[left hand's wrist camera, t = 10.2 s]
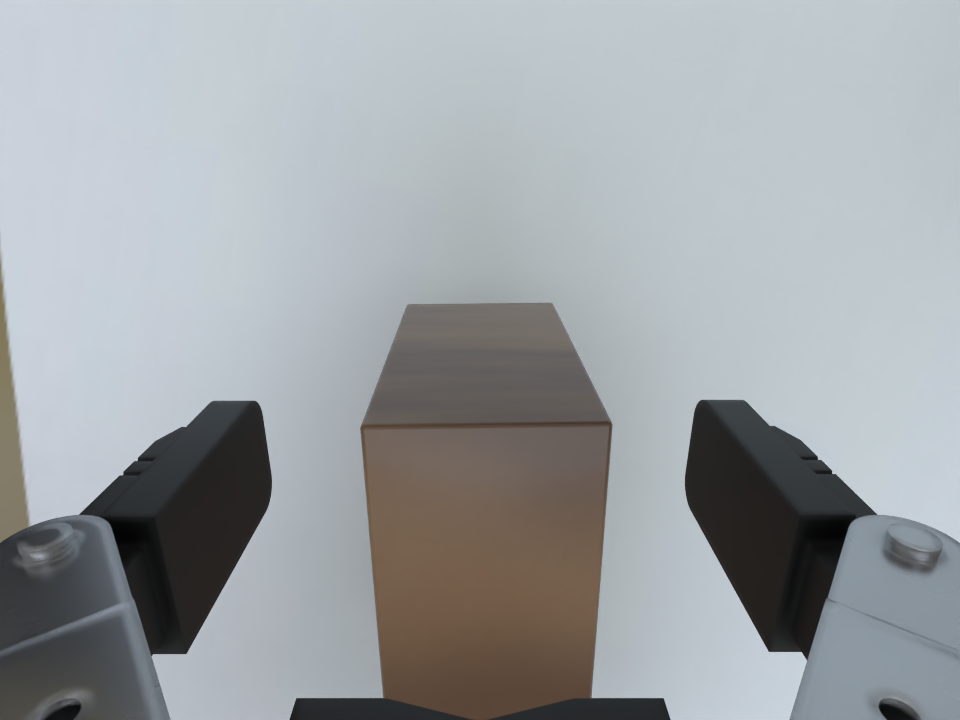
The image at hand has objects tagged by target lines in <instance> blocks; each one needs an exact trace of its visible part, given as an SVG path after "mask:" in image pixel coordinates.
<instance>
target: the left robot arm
mask: <svg viewBox="0 0 960 720" xmlns="http://www.w3.org/2000/svg"><path fill="white" fill-rule="evenodd" d="M271 489H272V477H271V469H270V462H269V455H268V448H267V442H266V435H265V428H264V421H263V415H262V410H261V408H260V405H259V404H258V403H257V402H256V401H212V402H211V403H209V404H208V405H207V406H206V407H205V408H204V410H203V411H202V412H201V413H200V414H199V415H198V416H197V417H196V418H195V419H194V420H193V421H192V422H191V423H190V424H189V425H188V426H187V427H181V428H179V429H177V430H175V431H173V432H172V433H170V434H168V435H166V436H164V437H162V438H160V439H159V440H157V441H155V442H154V443H153V444H152V445H151V446H150V447H149V448H148V449H147V450H146V451H145V452H144V453H143V454H142V455H141V456H140V457H138V461H134V462H133V463H132V464H131V465H130V466H129V467H128V468H127V469H126V470H125V471H124V474H123V476H119V477H118V478H117V479H116V480H115V481H114V482H113V483H112V484H110V485H109V486H108V487H107V488H106V489H105V490H104V491H103V492H102V493H101V494H100V495H99V496H98V497H97V498H96V499H95V500H94V501H93V502H92V503H91V504H90V505H89V506H88V507H87V508H86V509H85V510H83V511H82V512H81V513H80V514H79V515H73V516H65V517H60V518H55V519H51V520H48V521H44V522H41V523H38V524H36V525H33V526H31V527H28V528H26V529H24V530H22V531H20V532H18V533H16V534H14V535H12V536H10V537H9V538H7V539H5V540H4V541H2V542H1V543H0V720H170V717H169V713H168V710H167V707H166V703H165V700H164V697H163V693H162V690H161V687H160V683H159V680H158V677H157V673H156V670H155V667H154V663H153V660H152V657H151V656H152V655H153V654H187V652H188V650H189V648H190V646H191V645H192V643H193V641H194V639H195V637H196V636H197V634H198V632H199V630H200V629H201V627H202V625H203V623H204V621H205V620H206V618H207V616H208V614H209V612H210V611H211V609H212V607H213V605H214V603H215V602H216V600H217V598H218V596H219V595H220V593H221V591H222V589H223V587H224V586H225V584H226V582H227V580H228V578H229V577H230V575H231V573H232V571H233V569H234V568H235V566H236V564H237V562H238V561H239V559H240V557H241V555H242V553H243V552H244V550H245V548H246V546H247V544H248V543H249V541H250V539H251V537H252V535H253V534H254V532H255V530H256V528H257V527H258V525H259V523H260V521H261V519H262V518H263V516H264V514H265V512H266V510H267V508H268V505H269V502H270V497H271ZM685 490H686V497H687V501H688V505H689V507H690V510H691V511H692V513H693V515H694V517H695V519H696V521H697V522H698V524H699V526H700V528H701V530H702V531H703V533H704V535H705V537H706V539H707V540H708V542H709V544H710V546H711V548H712V550H713V551H714V553H715V555H716V557H717V559H718V560H719V562H720V564H721V566H722V568H723V569H724V571H725V573H726V575H727V577H728V579H729V580H730V582H731V584H732V586H733V588H734V589H735V591H736V593H737V595H738V597H739V598H740V600H741V602H742V604H743V606H744V607H745V609H746V611H747V613H748V615H749V617H750V618H751V620H752V622H753V624H754V626H755V627H756V629H757V631H758V633H759V635H760V636H761V638H762V640H763V642H764V644H765V646H766V647H767V649H768V651H769V652H802V653H803V655H804V656H805V658H806V659H807V663H806V667H805V670H804V673H803V677H802V680H801V683H800V687H799V690H798V693H797V697H796V700H795V703H794V707H793V710H792V713H791V717H790V720H960V543H959V542H958V541H956V540H955V539H953V538H951V537H950V536H948V535H946V534H944V533H942V532H940V531H938V530H936V529H934V528H932V527H929V526H927V525H924V524H922V523H919V522H916V521H912V520H909V519H905V518H900V517H895V516H887V515H877V514H876V513H875V512H874V511H873V510H872V509H871V508H870V507H869V506H868V505H867V504H866V503H865V502H864V501H863V500H862V499H861V498H860V497H859V496H858V495H856V494H855V493H854V492H853V491H852V490H851V489H850V488H849V487H848V486H847V485H846V484H845V483H844V482H843V481H842V480H841V479H840V478H839V477H838V476H837V475H836V474H832V470H831V469H830V468H829V467H828V466H827V465H826V464H825V463H824V462H823V461H822V460H818V457H817V456H816V455H815V454H814V453H813V452H812V451H811V450H810V449H809V448H808V447H807V446H806V445H805V444H804V443H803V442H802V441H801V440H799V439H797V438H796V437H794V436H792V435H790V434H788V433H786V432H785V431H783V430H781V429H779V428H777V427H775V426H769V425H768V424H767V423H766V422H765V421H764V420H763V419H762V418H761V417H760V416H759V415H758V413H757V412H756V411H755V410H754V409H753V408H752V407H751V406H750V405H749V404H748V403H747V402H746V401H744V400H701V401H699V402H698V404H697V406H696V408H695V412H694V418H693V425H692V432H691V439H690V446H689V453H688V460H687V467H686V474H685ZM290 720H473V719H468V718H464V717H460V716H456V715H452V714H448V713H444V712H440V711H436V710H432V709H428V708H424V707H420V706H416V705H412V704H407V703H403V702H399V701H395V700H391V699H387V698H296V701H295V705H294V708H293V711H292V714H291V717H290ZM487 720H670V717H669V714H668V711H667V708H666V705H665V701H664V698H573V699H569V700H565V701H561V702H557V703H553V704H548V705H544V706H540V707H536V708H532V709H528V710H524V711H520V712H516V713H512V714H508V715H504V716H500V717H496V718H492V719H487Z"/></svg>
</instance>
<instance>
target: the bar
mask: <svg viewBox="0 0 960 720" xmlns="http://www.w3.org/2000/svg"><path fill="white" fill-rule="evenodd" d="M360 429H361V441H362V453H363V464H364V476H365V488H366V500H367V511H368V523H369V535H370V546H371V558H372V570H373V582H374V593H375V605H376V617H377V629H378V640H379V652H380V664H381V676H382V687H383V698H387V699H391V700H395V701H399V702H403V703H407V704H412V705H416V706H420V707H424V708H428V709H432V710H436V711H440V712H444V713H448V714H452V715H456V716H460V717H464V718H468V719H473V720H487V719H492V718H496V717H500V716H504V715H508V714H512V713H516V712H520V711H524V710H528V709H532V708H536V707H540V706H544V705H548V704H553V703H557V702H561V701H565V700H569V699H573V698H591V695H592V682H593V669H594V656H595V644H596V631H597V618H598V605H599V592H600V579H601V566H602V553H603V540H604V527H605V514H606V501H607V489H608V476H609V463H610V450H611V437H612V422H611V420H610V418H609V416H608V414H607V412H606V410H605V408H604V406H603V404H602V402H601V400H600V398H599V396H598V394H597V392H596V390H595V388H594V386H593V384H592V382H591V380H590V378H589V376H588V374H587V372H586V370H585V368H584V366H583V364H582V362H581V360H580V358H579V356H578V354H577V352H576V350H575V348H574V346H573V344H572V342H571V340H570V338H569V336H568V334H567V332H566V330H565V328H564V326H563V324H562V322H561V320H560V318H559V316H558V314H557V312H556V310H555V308H554V306H553V304H552V303H498V304H409V305H407V307H406V310H405V312H404V315H403V317H402V320H401V323H400V325H399V328H398V331H397V333H396V336H395V338H394V341H393V344H392V346H391V349H390V352H389V354H388V357H387V359H386V362H385V365H384V367H383V370H382V373H381V375H380V378H379V381H378V383H377V386H376V388H375V391H374V394H373V396H372V399H371V402H370V404H369V407H368V409H367V412H366V415H365V417H364V420H363V423H362V425H361V428H360Z"/></svg>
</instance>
